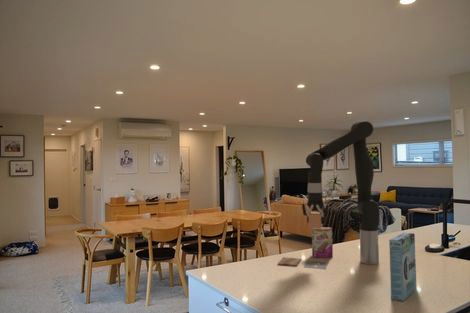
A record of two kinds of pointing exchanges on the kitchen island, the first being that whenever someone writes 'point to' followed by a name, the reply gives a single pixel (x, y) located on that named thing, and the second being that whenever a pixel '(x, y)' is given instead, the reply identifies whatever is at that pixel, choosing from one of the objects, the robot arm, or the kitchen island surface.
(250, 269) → the kitchen island surface
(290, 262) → the walnut board
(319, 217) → the terracotta block
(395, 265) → the gum box
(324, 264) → the tile
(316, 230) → the candy bar box
